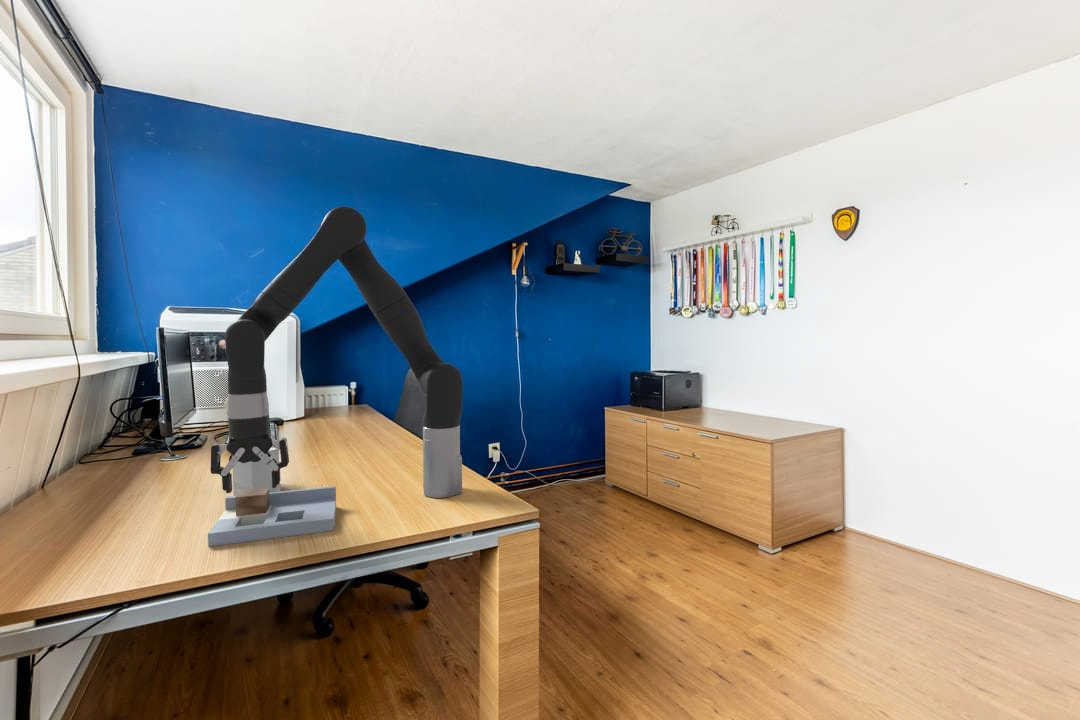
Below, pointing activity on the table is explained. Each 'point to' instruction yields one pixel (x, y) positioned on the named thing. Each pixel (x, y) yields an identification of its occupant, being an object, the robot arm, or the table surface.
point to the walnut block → (252, 502)
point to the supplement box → (254, 475)
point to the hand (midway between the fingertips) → (252, 489)
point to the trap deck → (278, 517)
